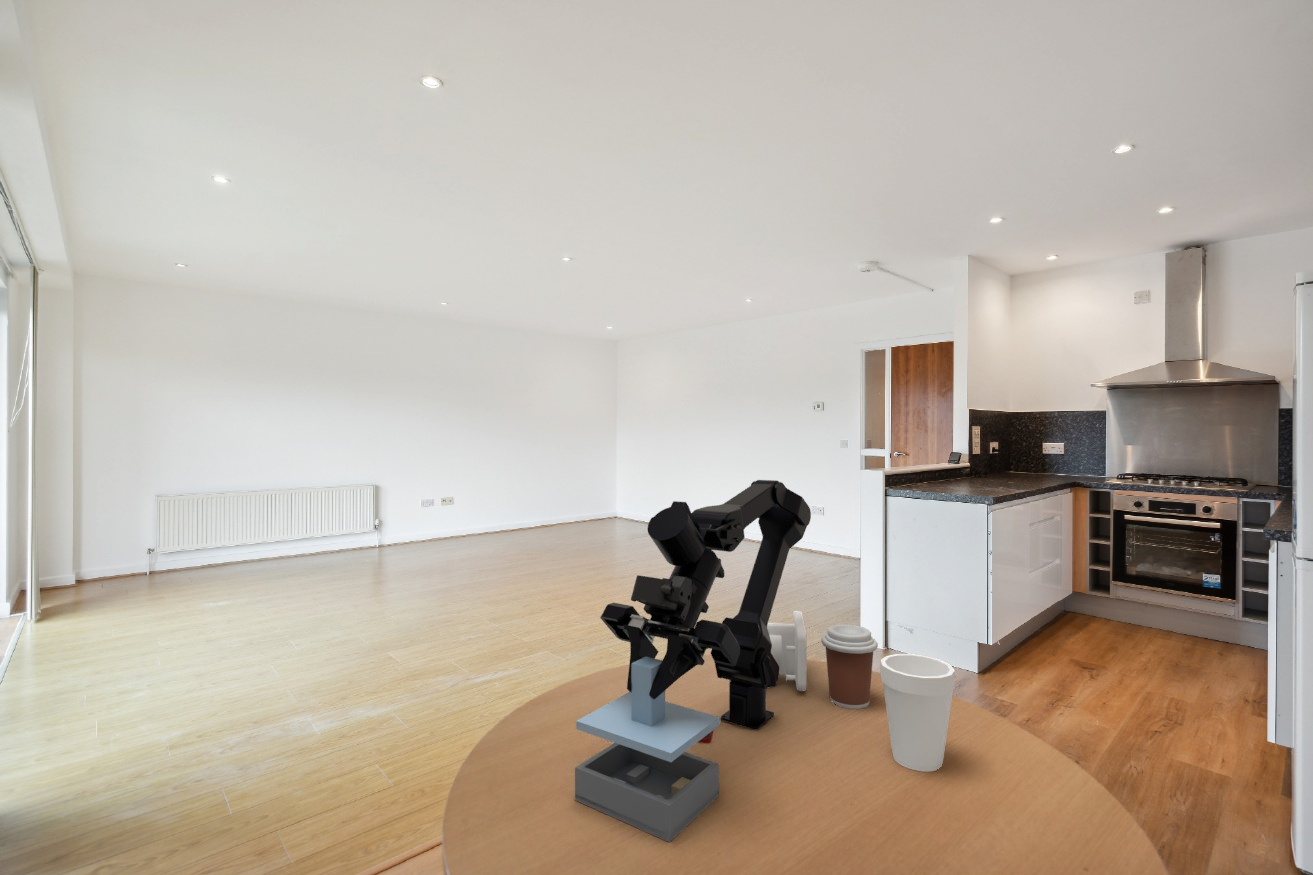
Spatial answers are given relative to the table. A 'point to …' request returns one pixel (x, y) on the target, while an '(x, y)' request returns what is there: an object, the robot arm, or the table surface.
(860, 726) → the table surface
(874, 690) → the table surface
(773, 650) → the cable organizer
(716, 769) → the parts tub
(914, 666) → the foam cup
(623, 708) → the tub lid
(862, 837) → the table surface
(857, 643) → the coffee cup
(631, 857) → the table surface
